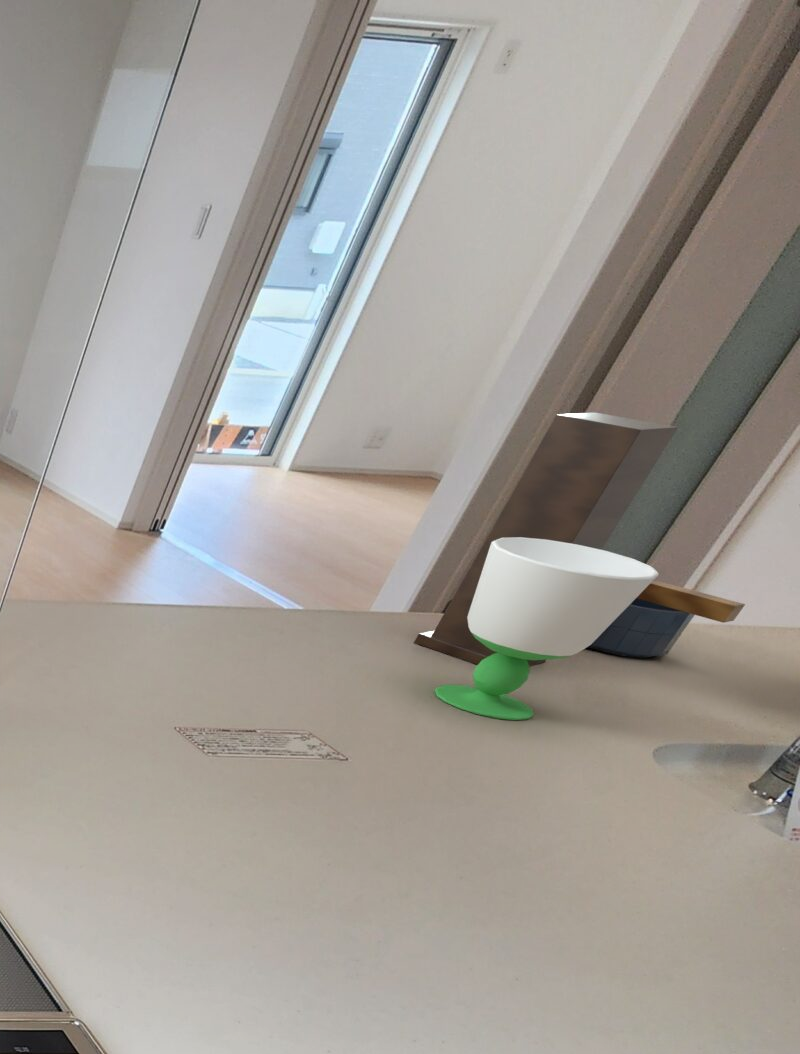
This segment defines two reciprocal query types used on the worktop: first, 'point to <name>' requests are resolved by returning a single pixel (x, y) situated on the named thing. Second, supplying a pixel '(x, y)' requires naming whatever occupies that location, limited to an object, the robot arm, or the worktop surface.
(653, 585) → the wooden bar
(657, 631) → the bowl
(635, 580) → the cup
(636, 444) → the tall brown box
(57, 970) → the worktop surface
